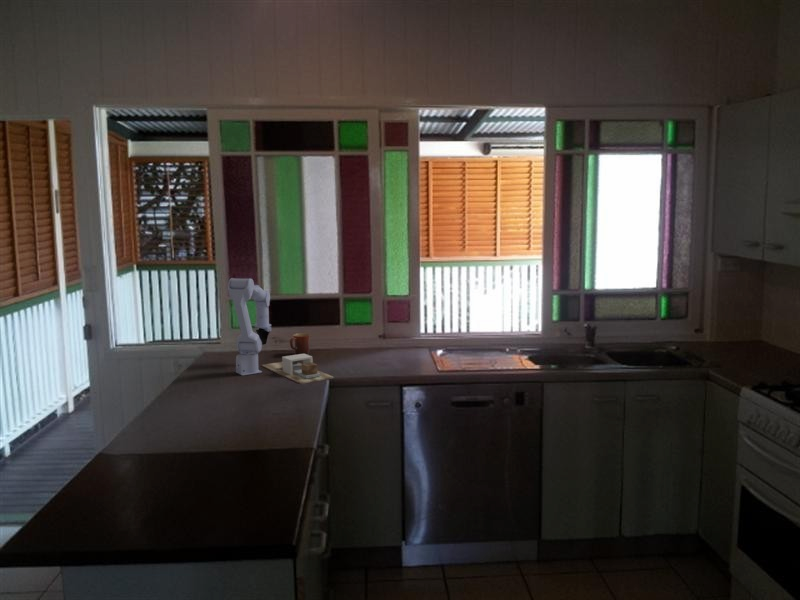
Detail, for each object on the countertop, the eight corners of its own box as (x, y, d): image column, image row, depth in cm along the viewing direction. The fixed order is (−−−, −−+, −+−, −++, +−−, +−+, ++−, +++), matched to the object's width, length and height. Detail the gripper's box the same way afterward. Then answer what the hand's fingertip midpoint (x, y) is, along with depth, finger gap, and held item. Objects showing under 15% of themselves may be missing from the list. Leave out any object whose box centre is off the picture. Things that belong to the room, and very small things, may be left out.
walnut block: (307, 375, 270) (307, 366, 269) (301, 373, 274) (301, 364, 273) (317, 373, 273) (317, 364, 272) (312, 371, 277) (311, 362, 276)
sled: (306, 378, 268) (306, 369, 268) (282, 368, 287) (282, 359, 286) (320, 376, 272) (320, 367, 272) (296, 365, 291) (296, 357, 290)
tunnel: (290, 374, 276) (290, 360, 275) (282, 371, 282) (282, 356, 281) (312, 371, 282) (312, 356, 281) (304, 367, 289) (304, 353, 288)
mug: (302, 352, 325) (301, 332, 323) (314, 354, 319) (313, 334, 318) (284, 356, 315) (284, 336, 314) (297, 358, 310) (296, 338, 308)
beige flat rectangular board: (300, 384, 263) (300, 382, 263) (261, 366, 294) (261, 364, 294) (333, 378, 273) (333, 376, 273) (292, 361, 304) (292, 359, 304)
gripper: (277, 317, 293) (277, 345, 295) (264, 313, 304) (264, 340, 306) (262, 318, 289) (263, 347, 291) (250, 314, 300) (251, 342, 302)
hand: (263, 344), depth 298 cm, fingers closed
